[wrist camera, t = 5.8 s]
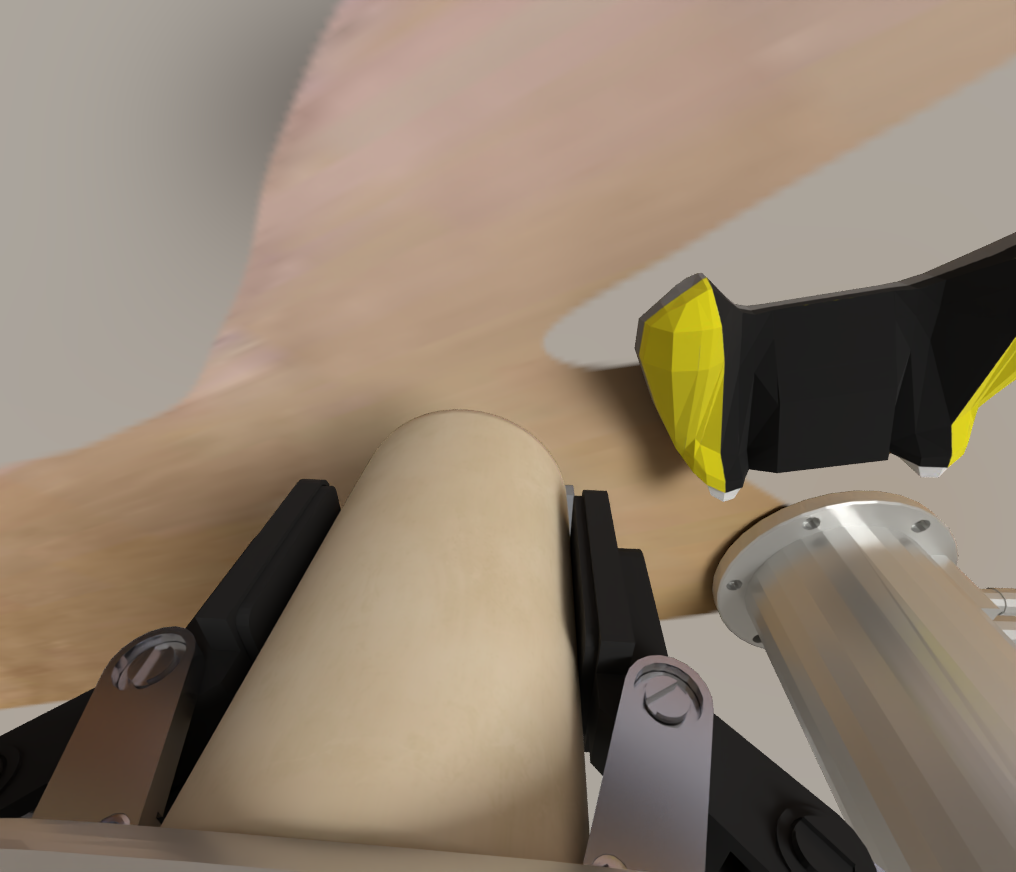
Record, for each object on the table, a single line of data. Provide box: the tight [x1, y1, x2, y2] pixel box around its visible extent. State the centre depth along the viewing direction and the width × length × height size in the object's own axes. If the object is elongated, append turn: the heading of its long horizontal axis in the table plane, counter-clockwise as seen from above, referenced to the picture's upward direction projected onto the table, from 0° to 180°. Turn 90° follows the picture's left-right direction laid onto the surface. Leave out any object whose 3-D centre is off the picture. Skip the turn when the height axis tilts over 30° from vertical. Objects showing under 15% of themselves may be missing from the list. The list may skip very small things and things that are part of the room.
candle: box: [160, 409, 590, 865], centre depth 9 cm, size 6×6×10 cm
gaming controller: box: [635, 232, 1016, 502], centre depth 19 cm, size 15×6×10 cm
